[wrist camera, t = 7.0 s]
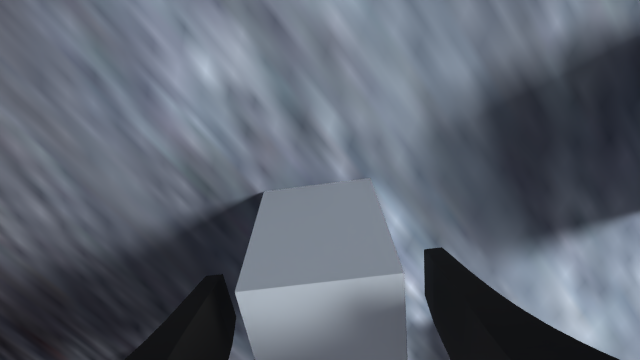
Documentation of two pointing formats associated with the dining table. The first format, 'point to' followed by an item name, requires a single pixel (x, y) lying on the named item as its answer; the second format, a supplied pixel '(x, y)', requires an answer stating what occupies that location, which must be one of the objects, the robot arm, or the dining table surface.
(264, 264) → the block
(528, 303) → the dining table surface
